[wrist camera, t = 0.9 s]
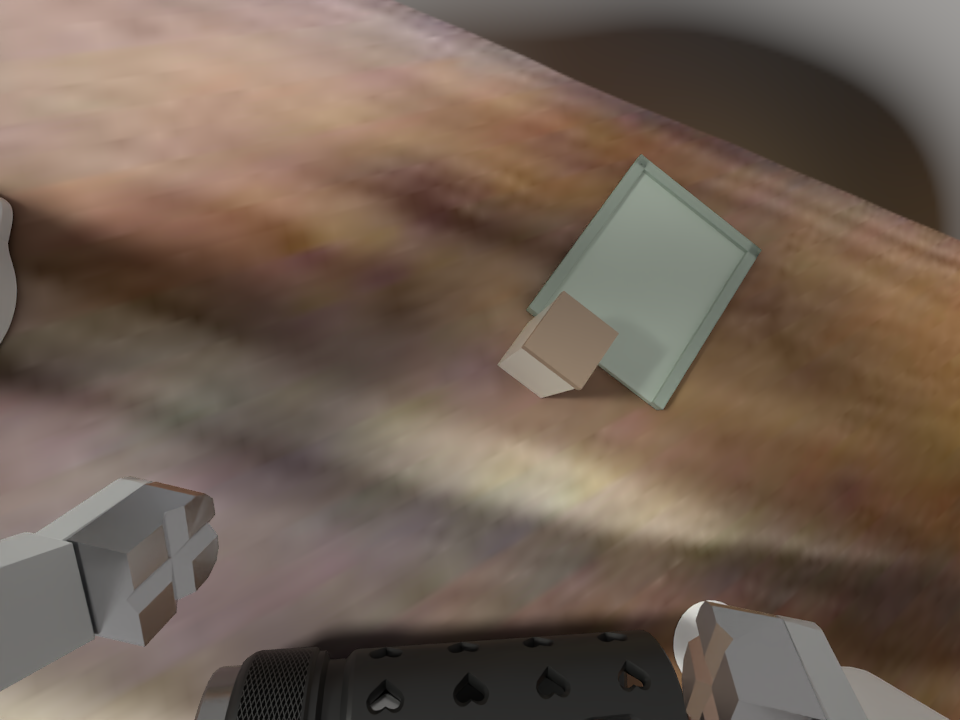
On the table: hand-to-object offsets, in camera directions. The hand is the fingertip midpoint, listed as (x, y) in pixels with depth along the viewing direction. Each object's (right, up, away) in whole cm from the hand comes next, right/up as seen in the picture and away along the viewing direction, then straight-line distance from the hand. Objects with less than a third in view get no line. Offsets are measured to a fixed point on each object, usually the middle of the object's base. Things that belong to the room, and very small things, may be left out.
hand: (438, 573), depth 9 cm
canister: (+5, +3, +34) cm, 35 cm away
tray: (+15, +10, +37) cm, 42 cm away
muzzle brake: (-2, -20, +30) cm, 36 cm away
